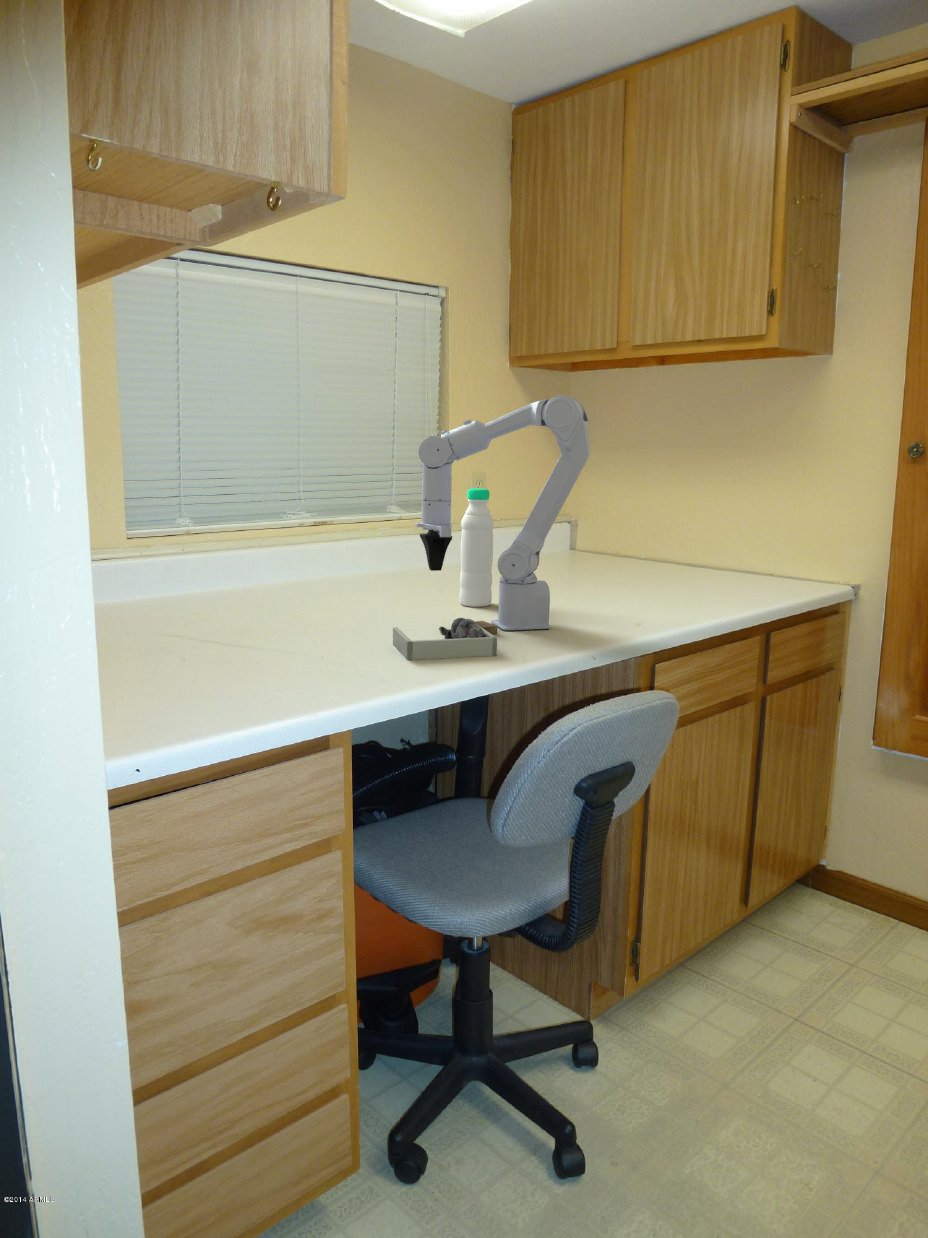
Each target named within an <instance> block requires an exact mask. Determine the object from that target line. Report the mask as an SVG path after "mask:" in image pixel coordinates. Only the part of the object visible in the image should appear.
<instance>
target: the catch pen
mask: <svg viewBox="0 0 928 1238" xmlns="http://www.w3.org/2000/svg"><path fill="white" fill-rule="evenodd" d="M478 626H479V625H478ZM481 628H482V627H481ZM482 630H483V631H484V634H485V635H486V637H482V638H460V639H444V638H443V639H442V638H441V639H438V638H437V639H421V640H420V639H419V640H411V639H410V637H408V635H406V634H405V633H404V631H402V630H401V629H400V628H399V627H398V626H393V627H392V645H393V646H394V647H395V649H396V650H398V652H399V653H400V654H401V655H402V656H403V657H404V658H405V660H407V661H413V660H414V661H415V660H433V659H434V660H435V659H436V660H437V659H438V660H439V659H456V658H474V657H475V658H477V657H492V656H493V657H494V656H495V657H496V656H497V655H498V637H497V636H495V635H492V634H491V633H489V632H488V631H486V630H485V629H483V628H482Z"/></svg>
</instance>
